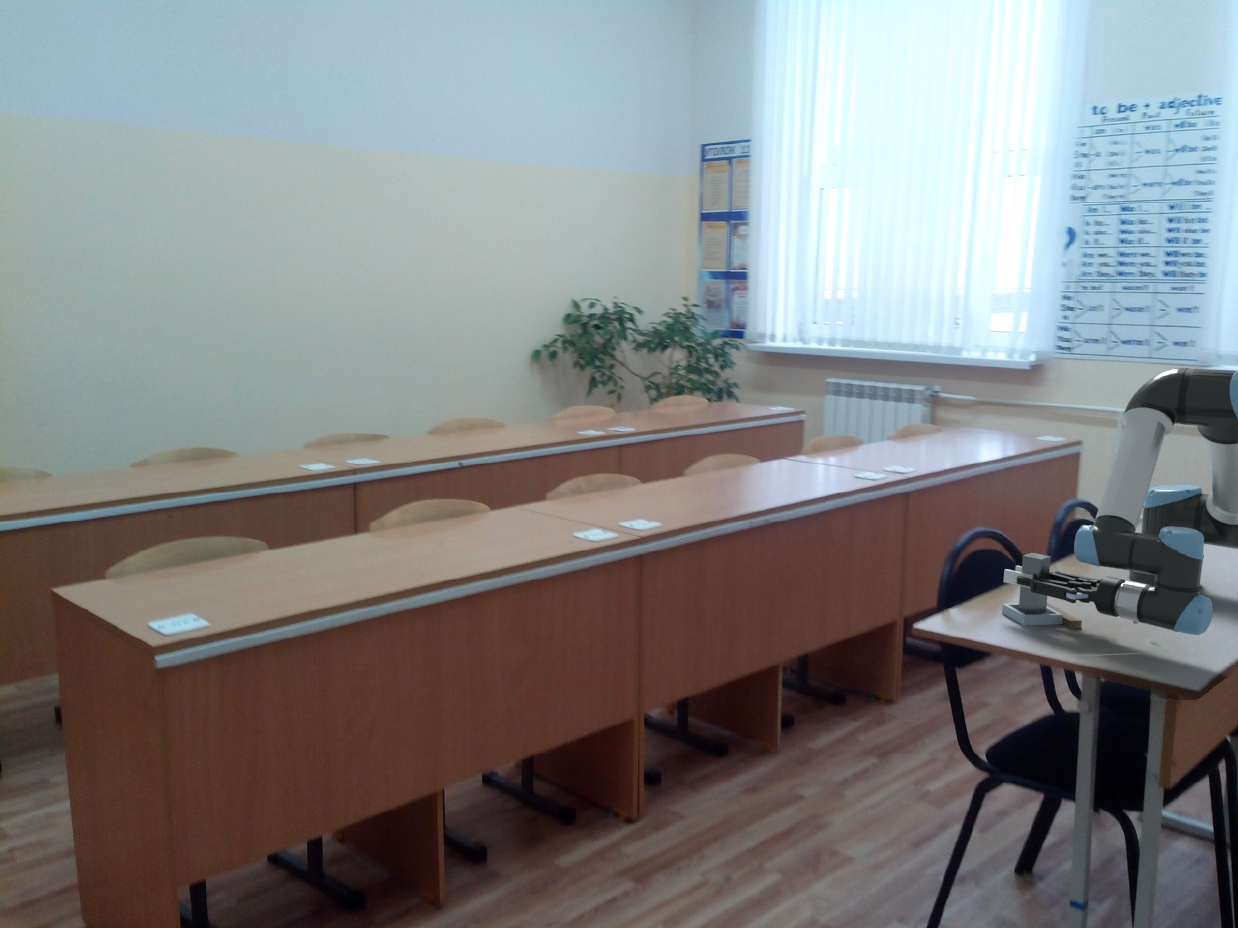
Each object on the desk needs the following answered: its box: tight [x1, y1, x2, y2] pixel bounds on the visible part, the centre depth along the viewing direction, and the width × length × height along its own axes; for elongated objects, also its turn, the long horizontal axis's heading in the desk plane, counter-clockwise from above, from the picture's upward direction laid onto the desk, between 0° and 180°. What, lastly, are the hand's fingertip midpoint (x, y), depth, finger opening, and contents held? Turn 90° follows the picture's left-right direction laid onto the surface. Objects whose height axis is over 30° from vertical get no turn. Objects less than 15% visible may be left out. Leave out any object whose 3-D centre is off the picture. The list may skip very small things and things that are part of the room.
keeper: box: [1001, 602, 1063, 627], centre depth 220 cm, size 9×9×2 cm
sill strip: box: [1047, 602, 1083, 629], centre depth 221 cm, size 2×14×2 cm, turn 9°
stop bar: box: [1018, 552, 1052, 615], centre depth 219 cm, size 4×4×12 cm
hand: (1010, 573), depth 223 cm, fingers closed on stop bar, 4 cm apart
